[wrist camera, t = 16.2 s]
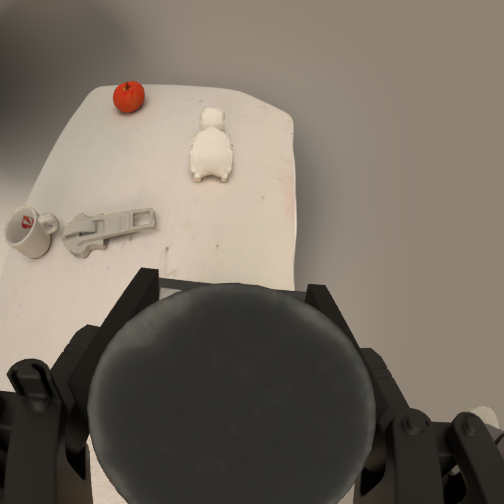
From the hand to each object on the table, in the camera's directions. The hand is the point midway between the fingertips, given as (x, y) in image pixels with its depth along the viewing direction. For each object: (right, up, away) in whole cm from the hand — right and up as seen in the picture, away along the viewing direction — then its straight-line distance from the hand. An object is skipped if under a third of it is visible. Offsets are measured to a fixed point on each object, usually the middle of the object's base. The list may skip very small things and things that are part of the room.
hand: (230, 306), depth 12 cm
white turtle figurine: (-7, +21, +44) cm, 49 cm away
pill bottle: (-1, -5, +2) cm, 5 cm away
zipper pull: (-24, +5, +35) cm, 43 cm away
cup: (-38, +4, +32) cm, 50 cm away
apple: (-29, +38, +48) cm, 68 cm away
